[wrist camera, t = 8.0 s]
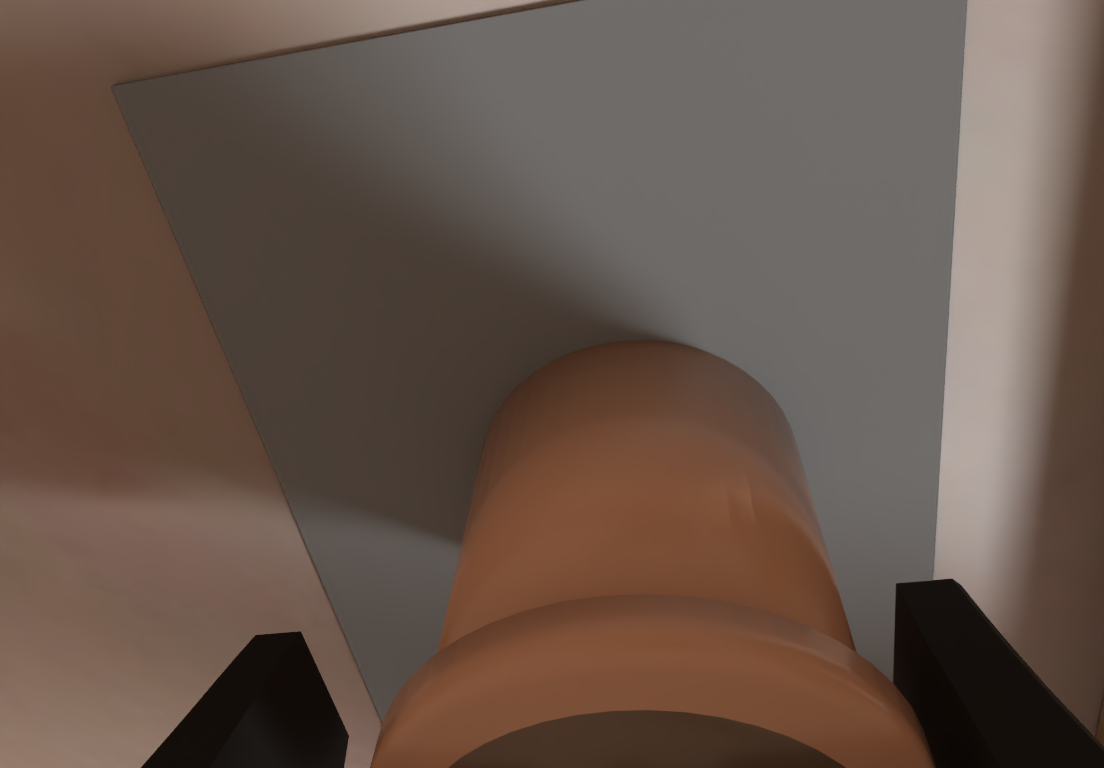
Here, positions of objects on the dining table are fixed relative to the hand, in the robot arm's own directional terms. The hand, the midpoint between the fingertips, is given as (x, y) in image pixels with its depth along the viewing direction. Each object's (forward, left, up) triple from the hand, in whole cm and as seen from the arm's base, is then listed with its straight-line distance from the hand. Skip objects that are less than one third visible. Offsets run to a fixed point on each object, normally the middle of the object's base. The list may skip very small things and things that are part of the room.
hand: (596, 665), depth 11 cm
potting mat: (0, 0, -3) cm, 3 cm away
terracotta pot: (0, -1, -3) cm, 3 cm away
